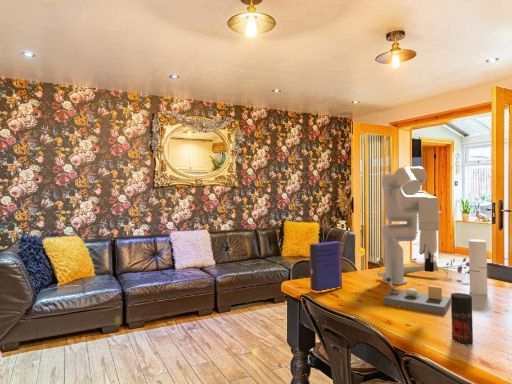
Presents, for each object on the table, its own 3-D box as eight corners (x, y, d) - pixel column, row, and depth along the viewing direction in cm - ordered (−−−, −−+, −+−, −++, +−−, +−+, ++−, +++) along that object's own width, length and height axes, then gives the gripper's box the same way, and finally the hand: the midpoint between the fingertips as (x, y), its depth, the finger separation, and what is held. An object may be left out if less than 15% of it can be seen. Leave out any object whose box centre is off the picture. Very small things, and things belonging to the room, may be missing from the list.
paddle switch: (428, 297, 152) (428, 286, 152) (429, 296, 154) (429, 285, 154) (441, 299, 149) (441, 287, 149) (442, 298, 150) (441, 286, 151)
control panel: (383, 304, 155) (383, 296, 155) (393, 295, 168) (393, 288, 168) (444, 314, 140) (444, 306, 140) (451, 304, 153) (450, 296, 153)
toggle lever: (391, 291, 160) (384, 278, 161) (392, 290, 161) (386, 277, 163) (395, 290, 159) (388, 277, 160) (396, 289, 160) (390, 276, 162)
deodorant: (448, 338, 119) (447, 293, 119) (464, 337, 119) (463, 292, 119) (459, 345, 113) (458, 298, 113) (477, 344, 113) (476, 297, 113)
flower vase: (406, 286, 211) (473, 277, 196) (404, 284, 201) (474, 275, 186) (402, 266, 215) (466, 256, 201) (399, 264, 205) (467, 253, 190)
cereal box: (335, 286, 187) (334, 240, 187) (342, 288, 183) (341, 241, 183) (310, 291, 177) (309, 244, 177) (317, 293, 173) (316, 245, 173)
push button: (405, 294, 155) (405, 290, 155) (407, 292, 158) (407, 287, 158) (416, 296, 152) (415, 291, 152) (418, 293, 156) (418, 289, 156)
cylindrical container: (490, 295, 165) (488, 241, 165) (473, 294, 166) (472, 241, 166) (483, 290, 172) (482, 239, 172) (467, 290, 173) (466, 239, 173)
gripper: (422, 224, 152) (423, 266, 152) (414, 228, 140) (415, 274, 140) (442, 225, 147) (442, 268, 148) (435, 229, 135) (435, 276, 136)
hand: (429, 271), depth 144 cm, fingers closed
